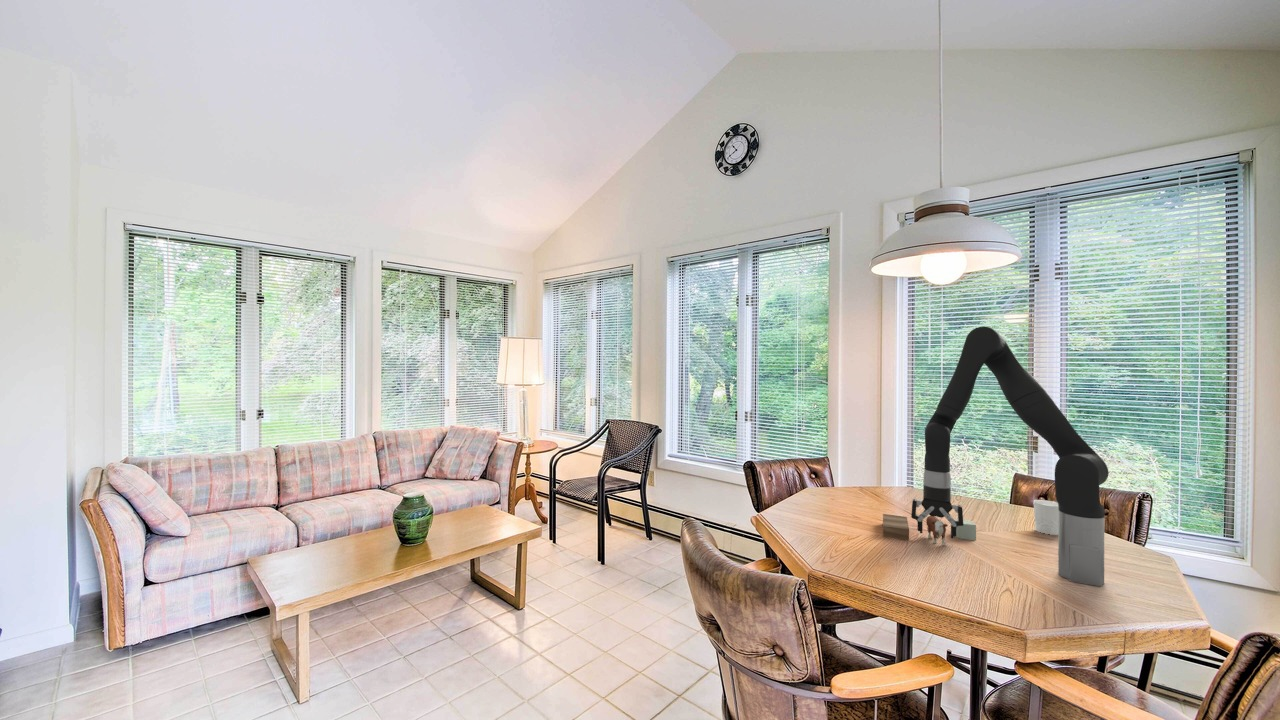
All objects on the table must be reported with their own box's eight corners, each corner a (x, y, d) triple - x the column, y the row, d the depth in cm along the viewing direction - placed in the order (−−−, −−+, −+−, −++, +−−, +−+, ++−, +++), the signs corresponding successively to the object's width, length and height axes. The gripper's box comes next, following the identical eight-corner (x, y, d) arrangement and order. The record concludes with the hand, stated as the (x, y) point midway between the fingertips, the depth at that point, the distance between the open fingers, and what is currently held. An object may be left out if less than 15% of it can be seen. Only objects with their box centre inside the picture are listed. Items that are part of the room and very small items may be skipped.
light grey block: (1028, 530, 172) (1028, 501, 172) (1041, 527, 175) (1041, 498, 175) (1055, 537, 164) (1055, 507, 165) (1068, 534, 168) (1068, 504, 168)
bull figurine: (933, 548, 153) (933, 522, 153) (924, 534, 166) (924, 510, 166) (949, 550, 152) (949, 523, 152) (939, 536, 164) (939, 511, 164)
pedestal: (909, 541, 160) (909, 529, 160) (883, 538, 163) (883, 526, 163) (906, 528, 173) (906, 516, 174) (882, 525, 177) (883, 513, 177)
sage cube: (976, 540, 161) (976, 524, 161) (958, 538, 163) (958, 523, 163) (970, 535, 166) (970, 520, 166) (953, 533, 167) (953, 519, 167)
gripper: (911, 483, 159) (910, 534, 159) (964, 490, 152) (963, 543, 152) (912, 479, 166) (911, 528, 166) (962, 485, 159) (962, 535, 159)
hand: (936, 535), depth 159 cm, fingers open, 8 cm apart
